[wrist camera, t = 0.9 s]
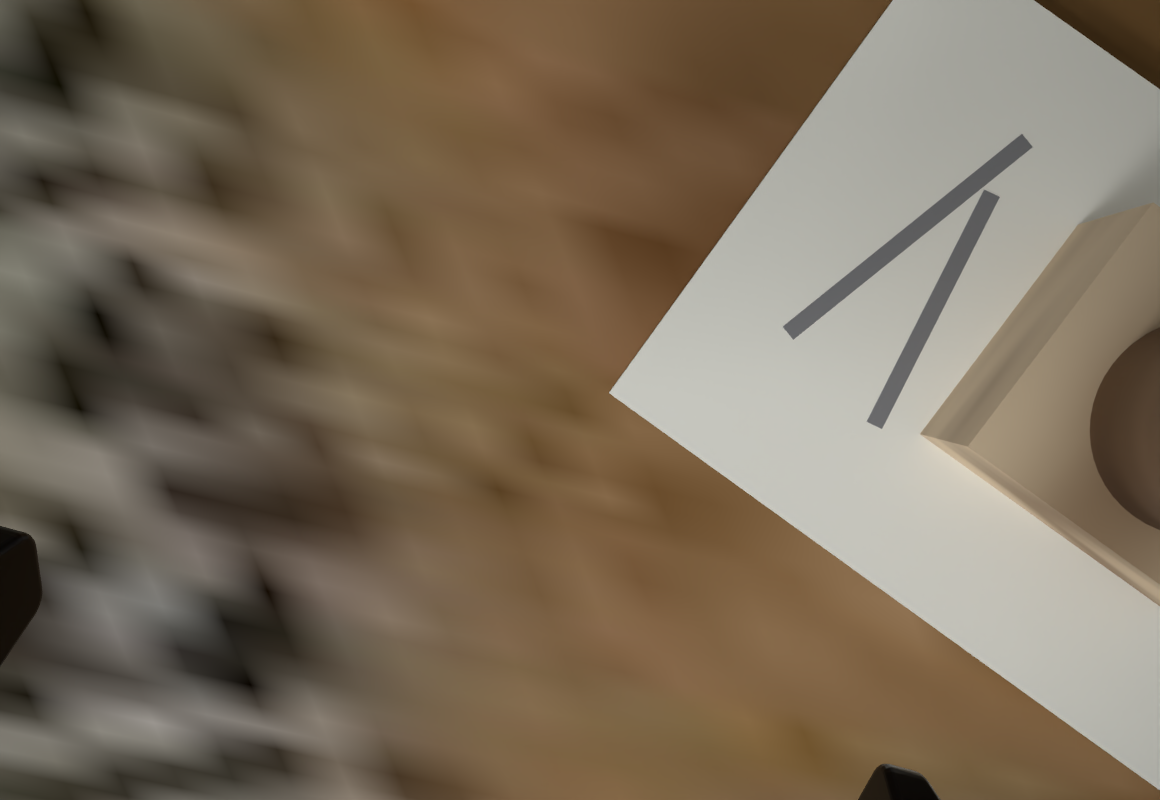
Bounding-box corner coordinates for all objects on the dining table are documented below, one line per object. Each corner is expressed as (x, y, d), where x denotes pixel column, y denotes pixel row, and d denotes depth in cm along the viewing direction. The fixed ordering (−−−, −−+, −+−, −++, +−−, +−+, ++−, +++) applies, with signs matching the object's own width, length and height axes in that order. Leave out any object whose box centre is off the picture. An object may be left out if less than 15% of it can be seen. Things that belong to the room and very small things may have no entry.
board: (1614, 440, 21) (1663, 445, 20) (1266, 865, 22) (1296, 889, 21) (926, -46, 22) (940, -66, 21) (609, 391, 23) (609, 392, 22)
